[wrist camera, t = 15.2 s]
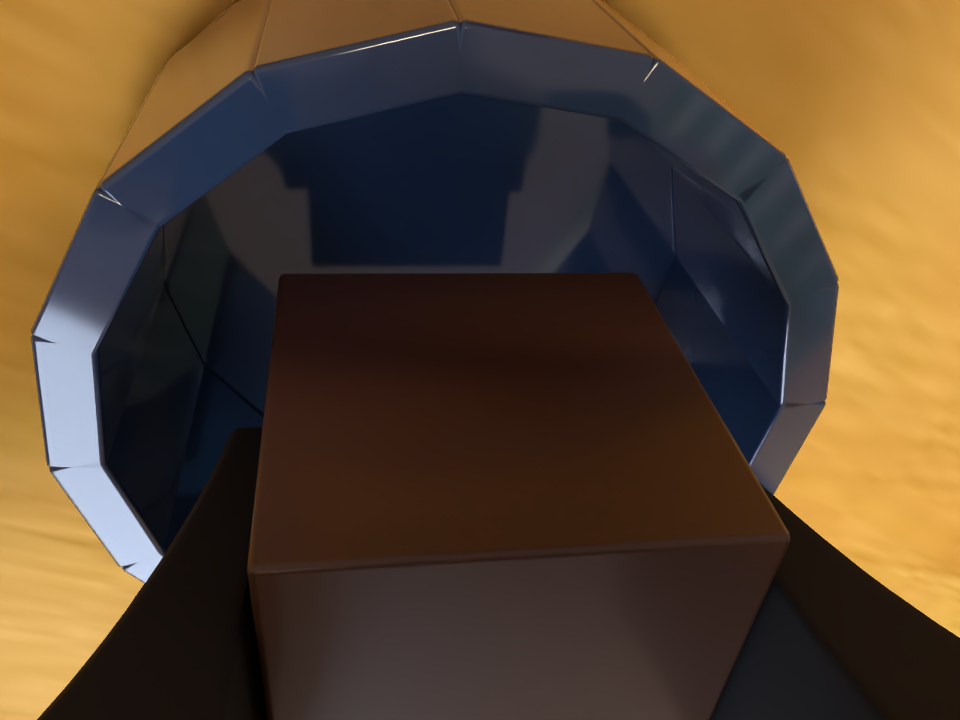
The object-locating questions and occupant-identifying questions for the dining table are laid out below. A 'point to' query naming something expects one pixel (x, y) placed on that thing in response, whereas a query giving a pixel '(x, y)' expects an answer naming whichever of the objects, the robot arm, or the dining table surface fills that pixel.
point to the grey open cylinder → (409, 225)
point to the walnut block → (496, 505)
